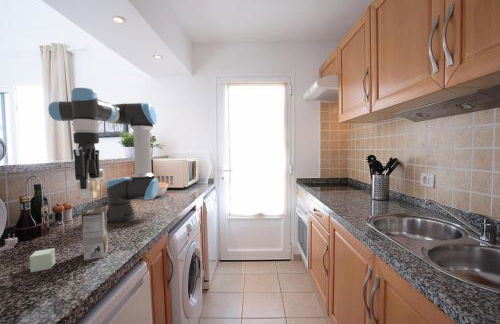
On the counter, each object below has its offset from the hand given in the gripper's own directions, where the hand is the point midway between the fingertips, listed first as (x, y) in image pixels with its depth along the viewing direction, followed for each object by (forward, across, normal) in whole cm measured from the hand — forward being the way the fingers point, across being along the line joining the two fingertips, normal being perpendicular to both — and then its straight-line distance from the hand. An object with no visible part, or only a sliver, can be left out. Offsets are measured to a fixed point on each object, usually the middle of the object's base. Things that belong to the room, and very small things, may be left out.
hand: (89, 196), depth 86 cm
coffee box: (+21, 0, +2) cm, 21 cm away
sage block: (+21, +8, -11) cm, 25 cm away
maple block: (0, 0, 0) cm, 0 cm away
